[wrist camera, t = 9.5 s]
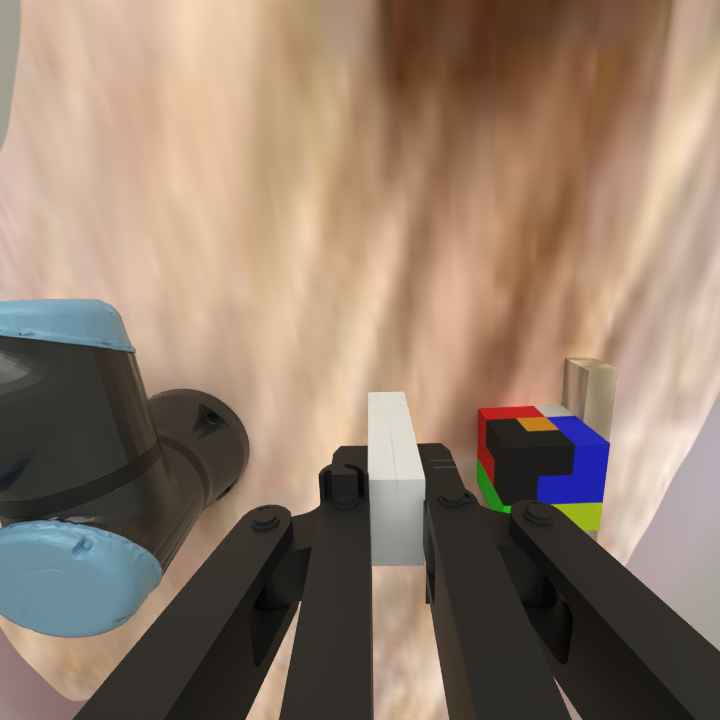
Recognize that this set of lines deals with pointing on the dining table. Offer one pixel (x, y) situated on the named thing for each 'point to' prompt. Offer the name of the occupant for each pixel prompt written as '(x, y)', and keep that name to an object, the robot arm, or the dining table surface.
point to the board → (590, 396)
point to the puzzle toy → (542, 461)
